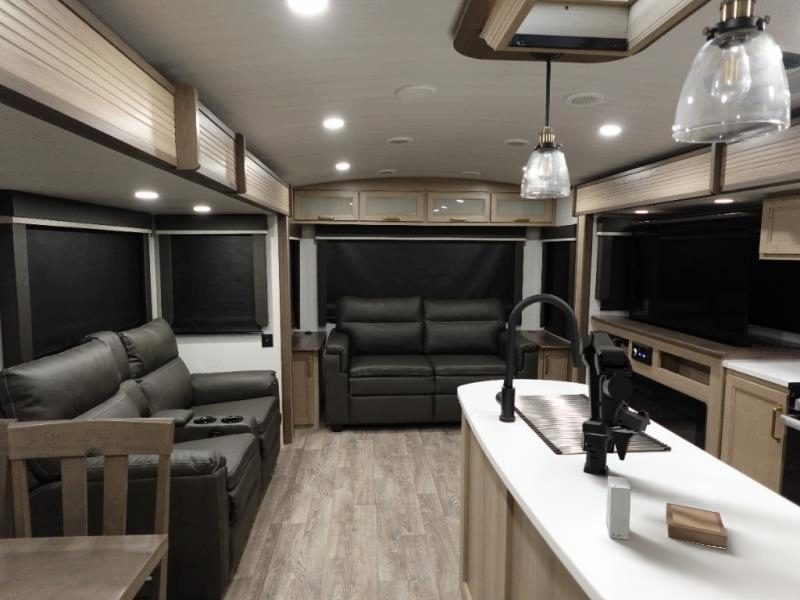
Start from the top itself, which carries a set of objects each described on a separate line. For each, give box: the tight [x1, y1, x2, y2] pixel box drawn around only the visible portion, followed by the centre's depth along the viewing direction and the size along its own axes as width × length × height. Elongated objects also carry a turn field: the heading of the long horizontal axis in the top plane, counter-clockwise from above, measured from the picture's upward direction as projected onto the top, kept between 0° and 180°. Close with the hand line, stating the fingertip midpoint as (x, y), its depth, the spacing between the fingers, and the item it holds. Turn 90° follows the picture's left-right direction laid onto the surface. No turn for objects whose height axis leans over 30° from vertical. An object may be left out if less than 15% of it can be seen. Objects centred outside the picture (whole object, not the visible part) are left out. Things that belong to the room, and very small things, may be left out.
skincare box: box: [605, 475, 632, 541], centre depth 113 cm, size 6×4×12 cm
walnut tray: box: [665, 502, 728, 549], centre depth 113 cm, size 11×11×3 cm
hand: (612, 461), depth 123 cm, fingers open, 9 cm apart
